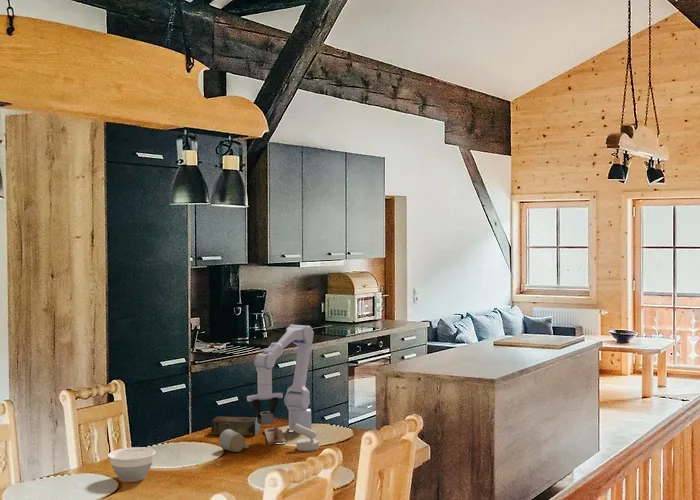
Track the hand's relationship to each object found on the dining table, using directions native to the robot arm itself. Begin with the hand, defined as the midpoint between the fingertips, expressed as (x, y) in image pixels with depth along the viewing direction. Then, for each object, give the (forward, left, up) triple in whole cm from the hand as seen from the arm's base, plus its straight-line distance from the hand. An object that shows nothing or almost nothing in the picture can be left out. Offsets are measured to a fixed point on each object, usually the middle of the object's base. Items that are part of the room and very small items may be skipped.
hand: (265, 417), depth 335 cm
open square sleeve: (0, 0, -2) cm, 2 cm away
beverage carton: (+11, -16, -10) cm, 22 cm away
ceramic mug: (+12, +11, -10) cm, 19 cm away
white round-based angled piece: (-15, +14, -10) cm, 22 cm away
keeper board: (-4, -4, -9) cm, 11 cm away
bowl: (+48, +41, -10) cm, 64 cm away
